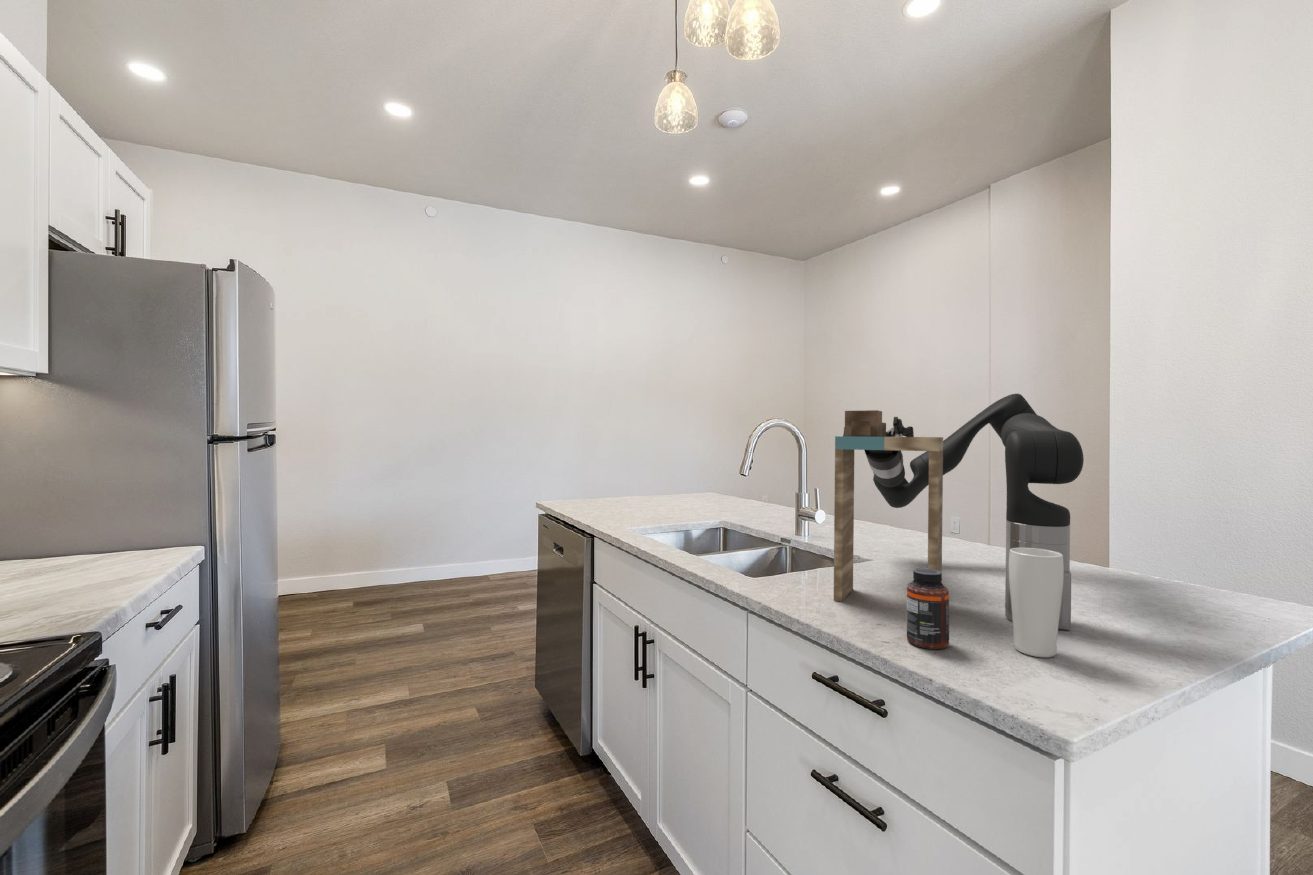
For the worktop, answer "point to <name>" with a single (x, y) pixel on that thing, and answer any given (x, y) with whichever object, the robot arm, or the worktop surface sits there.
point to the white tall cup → (1035, 599)
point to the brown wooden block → (864, 424)
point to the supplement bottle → (927, 610)
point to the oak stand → (846, 500)
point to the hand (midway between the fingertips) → (873, 420)
